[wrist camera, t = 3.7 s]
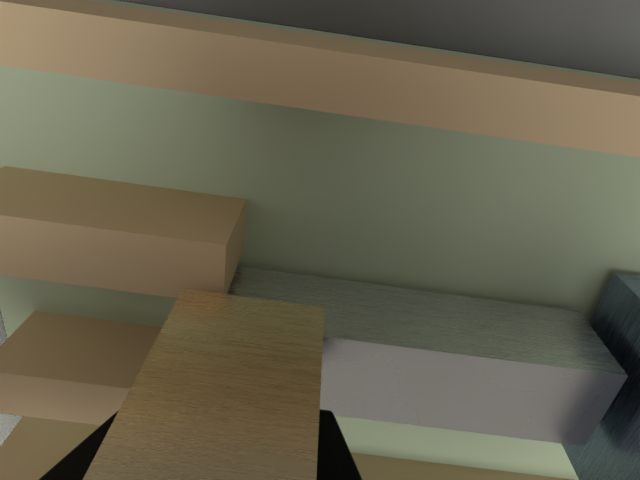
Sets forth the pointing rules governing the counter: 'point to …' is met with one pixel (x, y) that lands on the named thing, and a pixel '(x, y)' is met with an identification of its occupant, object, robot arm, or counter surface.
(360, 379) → the tan and grey block
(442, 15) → the counter surface
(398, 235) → the pitch
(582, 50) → the counter surface
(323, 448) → the robot arm
